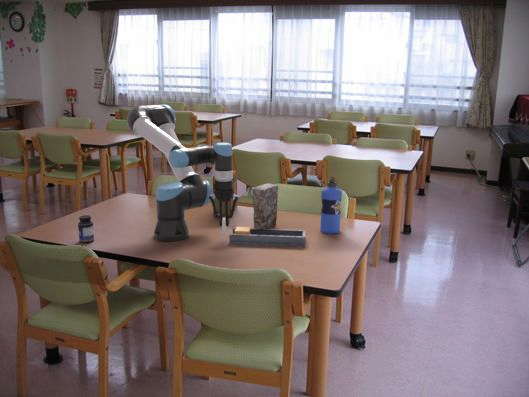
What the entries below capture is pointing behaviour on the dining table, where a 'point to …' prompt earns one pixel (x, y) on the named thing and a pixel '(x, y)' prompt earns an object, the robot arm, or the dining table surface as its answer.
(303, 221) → the dining table surface
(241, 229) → the block
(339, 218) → the water bottle
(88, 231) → the pill bottle
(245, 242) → the chute
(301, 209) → the dining table surface
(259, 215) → the stone block
